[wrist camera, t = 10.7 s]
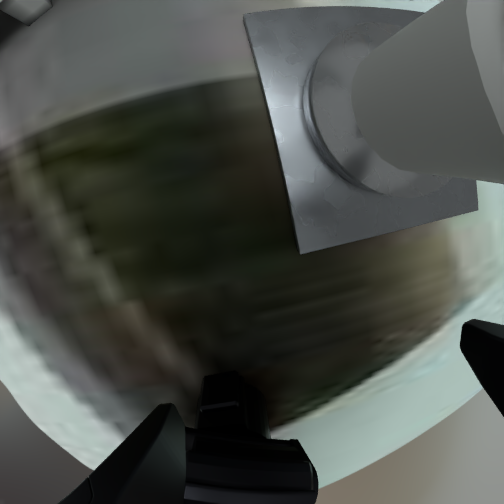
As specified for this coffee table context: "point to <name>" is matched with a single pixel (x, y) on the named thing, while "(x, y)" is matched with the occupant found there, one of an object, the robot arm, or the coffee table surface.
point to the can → (438, 93)
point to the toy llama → (25, 9)
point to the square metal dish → (338, 128)
